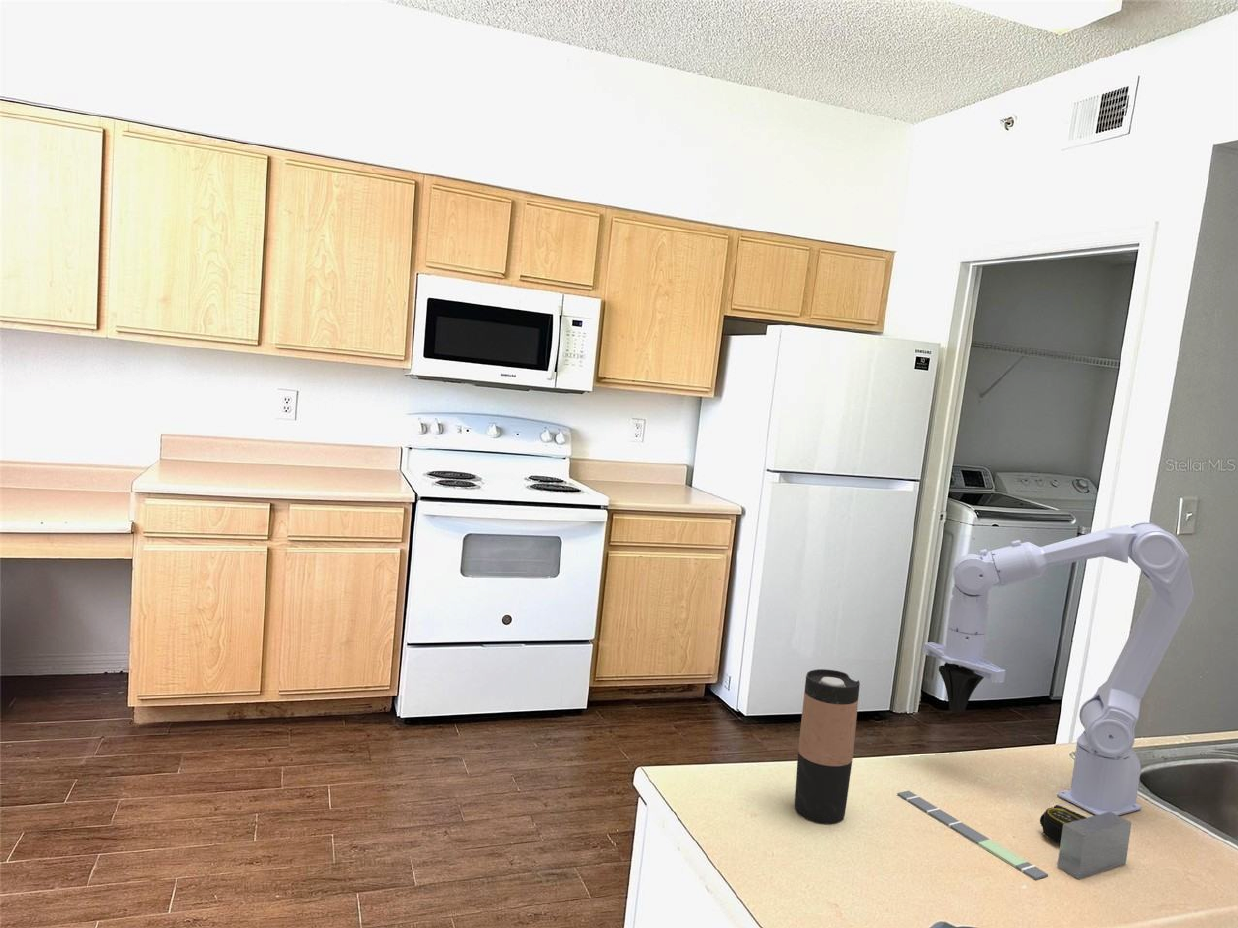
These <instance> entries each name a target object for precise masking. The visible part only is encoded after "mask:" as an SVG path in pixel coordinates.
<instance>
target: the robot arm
mask: <svg viewBox="0 0 1238 928" xmlns="http://www.w3.org/2000/svg"><path fill="white" fill-rule="evenodd" d="M979 552H980V554H975V553H969V554H965V555H962V556H961V557H959V559H957V561H956V562H955V564H954V567H952V575H953V581H954V583H953V585H954V586H953V587H952V590H951V596H952V597H951V598H950V599H949V600H950V602H949V611H948V619H947V629H946V637H945V645H943V644H940V643H937V642H934V641H930V642H924V645H923V655H925V656H928V657H930V656H932V657H933V658H936V659H939V660H941V661H942V662H944V665H940V666H939V667H938V672H939V673H940V676H941V678H942V681H943V684H944V686H945V690H946V696H947V700H948V709H949V711H950V712H953V713H955V714H959V713H964V712H965V711H966V708H967V706H968V704H969V700H970V698H971V696H972V695H973V693H974V690H975V689H976V688H977V686H978V685H979V684H980V683H981V682H982V680H983V679H984V678H986V679H988V680H990V682H991V683H993V684H999V683H1001V684H1002V683H1004V682H1005V678H1006V677H1005V676H1006V669H1003V668H1002V667H999V666H997V665H996V664H994V663H992V662H990V661H989V660H987V659H986V658H984V656H983V655H984V647H985V639H986V630H987V623H988V615H989V613H988V612H989V607H990V606H989V603H988V599H989V591H991V589H992V588H993V586H994V587H999V588H1000V587H1005V586H1009V585H1012V584H1018V583H1023V582H1026V581H1030V580H1034V579H1035V580H1036V579H1039V578H1041V577H1042V576H1043V574H1044V572H1045V570H1047V568H1050V567H1055V566H1059V565H1064V564H1065V565H1066V564H1071V563H1076V562H1081V561H1086V560H1091V559H1096V558H1097V559H1098V558H1101V557H1102V558H1108V559H1110V560H1115V561H1118V562H1121V563H1125V564H1128V563H1129V559H1130V560H1131V561H1132V562H1133V563H1134V564H1135V565H1136V566H1137V567H1138V568H1139V569H1140V571H1142V575H1143V576H1144V579H1145V581H1146V583H1147V584H1148V586H1149V588H1150V594H1149V595H1148V598H1147V600H1146V602H1145V604H1144V605H1143V608H1142V609H1141V612H1140V614H1139V616H1138V618H1137V619H1136V622H1135V623H1134V625H1133V627H1132V630H1131V632H1130V633H1129V635H1128V638H1127V639H1126V642H1125V643H1124V646H1123V648H1122V649H1121V652H1120V654H1119V656H1118V658H1117V660H1116V662H1115V663H1114V665H1113V667H1112V670H1111V672H1110V674H1109V675H1108V677H1107V680H1106V681H1105V682H1104V683H1102V684H1101V685H1100V686H1099V687H1098V688H1097V690H1096V692H1095V694H1094V695H1093V696H1092V697H1091V698H1090V699H1087V700H1086V701H1085V702H1083V704H1082V705H1081V707H1080V709H1079V714H1078V715H1079V721H1080V723H1081V725H1082V726H1083V728H1084V730H1083V732H1082V733H1081V734H1080V735H1079V736H1078V737H1077V738H1076V746H1075V755H1074V759H1073V760H1074V761H1073V769H1072V777H1071V784H1070V789H1065V790H1062V791H1058V792H1057V793H1056V794H1057V796H1058V797H1059V798H1061V799H1064V800H1065V801H1068V802H1069V803H1071V804H1074V805H1076V806H1077V807H1078V808H1081V809H1084V810H1085V811H1087V812H1089V813H1091V814H1093V815H1094V816H1096V815H1099V814H1103V813H1107V812H1112V813H1114V814H1116V815H1118V816H1121V815H1124V814H1127V813H1131V812H1135V811H1139V810H1141V809H1142V807H1143V806H1142V805H1141V804H1139V803H1137V798H1138V790H1139V783H1140V776H1141V768H1142V767H1141V762H1140V758H1139V757H1138V756H1137V753H1136V752H1135V751H1134V750H1133V749H1132V748H1133V746H1134V744H1135V738H1136V737H1135V727H1136V725H1137V723H1138V720H1139V715H1140V707H1141V701H1142V698H1143V697H1144V695H1145V693H1146V691H1147V689H1148V688H1149V687H1148V686H1150V683H1151V681H1152V679H1153V677H1154V675H1155V674H1156V672H1157V670H1158V667H1159V666H1160V663H1161V662H1162V659H1163V658H1164V656H1165V654H1166V652H1167V650H1168V648H1169V646H1170V644H1171V642H1172V640H1173V638H1174V636H1175V635H1176V633H1177V630H1178V629H1179V627H1180V624H1181V623H1182V621H1183V619H1184V617H1185V615H1186V613H1187V610H1188V609H1189V607H1190V605H1191V603H1192V601H1193V599H1194V596H1195V592H1194V591H1195V590H1194V586H1193V581H1192V577H1191V571H1190V566H1189V561H1190V560H1189V557H1190V556H1189V554H1188V552H1187V551H1186V550H1185V548H1184V547H1183V545H1182V544H1181V542H1180V540H1178V539H1177V537H1176V536H1175V535H1173V534H1172V533H1170V532H1168V531H1166V530H1164V529H1163V528H1162V527H1161V526H1159V525H1157V524H1156V523H1153V522H1149V521H1148V522H1147V521H1143V522H1137V523H1134V524H1132V525H1131V526H1130V525H1129V524H1127V525H1126V524H1125V525H1118V526H1112V527H1109V528H1103V529H1101V530H1097V531H1094V532H1089V533H1087V534H1083V535H1079V536H1077V537H1076V536H1075V537H1073V538H1069V539H1065V540H1062V541H1058V542H1054V543H1051V544H1047V545H1044V546H1038V545H1036V544H1034V543H1032V542H1030V541H1025V542H1023V543H1022V542H1021V539H1016V540H1014V541H1011V545H1009V546H1004V547H1001V548H998V549H994V550H990V551H988V550H987V548H985V549H980V550H979Z"/></svg>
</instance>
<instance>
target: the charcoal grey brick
mask: <svg viewBox="0 0 1238 928" xmlns="http://www.w3.org/2000/svg"><path fill="white" fill-rule="evenodd" d="M1131 829H1132V821H1131V820H1128V819H1126V818H1123V817H1122V816H1121V815H1116V814H1114V813H1112V812H1107V813H1103V814H1099V815H1093V816H1089V817H1087V818H1085V819H1081V820H1077V821H1074V822H1070V823H1066V824H1063V829H1062V836H1061V844H1059V845H1060V846H1059V854H1058V858H1057V860H1058V861H1057V868H1058V869H1059V870H1062V871H1063V872H1065V873H1066V874H1068V875H1070V876H1071V877H1073V878H1075V879H1077V880H1082V879H1085V878H1087V877H1091V876H1094V875H1097V874H1101V873H1103V872H1107V871H1109V870H1113V869H1116V868H1119V867H1122V866H1125V865H1126V864H1127V858H1128V850H1129V843H1130V836H1131V835H1130V834H1131Z"/></svg>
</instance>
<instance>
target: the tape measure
mask: <svg viewBox="0 0 1238 928" xmlns="http://www.w3.org/2000/svg"><path fill="white" fill-rule="evenodd" d="M1085 818H1088V817H1087V816H1084V815H1082V814H1080V813H1078V812H1075V811H1073V810H1071V809H1068V808H1066V807H1063V806H1062V805H1059V804H1057V805H1054V806H1053V807H1048V808H1047V809H1045V811H1044V813H1042V815H1041V816H1040V818H1039V823H1040V826H1041V827H1042V833H1043V834H1044V835H1045V836H1046V837H1047V838H1048V839H1049V840H1052V842H1055V843H1057V844H1059V845H1060V844H1061V836H1062V829H1063V824H1066V823H1070V822H1074V821H1077V820H1081V819H1085Z"/></svg>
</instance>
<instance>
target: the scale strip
mask: <svg viewBox="0 0 1238 928" xmlns="http://www.w3.org/2000/svg"><path fill="white" fill-rule="evenodd" d="M896 794H897V796H898V797H900V798H901V799H903V800H905V801H906V802H908V803H909V804H911V805H912V806H914V807H916V808H918V809H920V810H921V811H923V812H924V813H926V814H927V815H929V816H930V817H933V818H934V819H935V820H937V821H938V822H940V823H942V824H944V825H946V826H947V827H948V828H949V829H952V830H953V831H955V832H957V833H958V834H960V835H962V836H964V837H965V838H966V839H968V840H969V841H971V842H973V843H975V844H976V845H978V846H979V847H981V848H982V849H984V850H986V851H987V852H989V853H991V854H992V855H994V856H995V857H997V858H999V859H1000V860H1001V861H1004V862H1005V863H1006V864H1008V865H1010V866H1011V867H1014V868H1015V869H1017V870H1018V871H1019V872H1021V873H1023V874H1025V875H1026V876H1028V877H1030V878H1032V879H1033V880H1035V881H1038V880H1040V879H1044V878H1047V877H1049V874H1048V873H1047V872H1045V871H1044V870H1042V869H1040V868H1038V867H1037V866H1036V865H1035V864H1032V863H1031V862H1029V861H1027V860H1026V859H1024V858H1023V857H1021V856H1019V855H1018V854H1015V852H1013V851H1011V850H1010V849H1008V848H1006V847H1004V845H1003V846H1002V845H1001V844H999V843H998V842H996V841H994V840H993V839H990V838H988V837H987V836H985V835H984V834H982V833H980V832H978V831H977V830H975V829H974V828H972V827H970V826H969V825H968V824H965V823H964V822H962V821H961V820H959V819H957V818H955V817H954V816H952V815H950V814H949V813H947V812H945V811H944V810H942V809H941V808H940V807H937V806H935V805H933V804H932V803H930V802H929V801H927V800H925V799H924V798H922V797H921V796H920V795H917V794H915V793H914V792H912V791H911V790H905V791H900V792H897V793H896Z"/></svg>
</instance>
